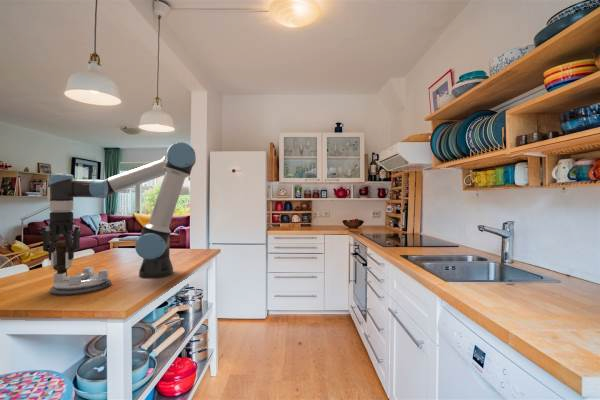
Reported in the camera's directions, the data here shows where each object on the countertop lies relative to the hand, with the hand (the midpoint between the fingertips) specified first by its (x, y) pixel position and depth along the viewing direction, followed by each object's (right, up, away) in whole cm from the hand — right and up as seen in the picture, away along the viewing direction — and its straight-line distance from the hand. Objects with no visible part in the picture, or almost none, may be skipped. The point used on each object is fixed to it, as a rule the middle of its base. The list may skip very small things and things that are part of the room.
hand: (61, 267), depth 118 cm
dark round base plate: (+8, -8, 0) cm, 12 cm away
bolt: (0, -4, +1) cm, 4 cm away
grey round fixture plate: (+8, -7, 0) cm, 11 cm away
